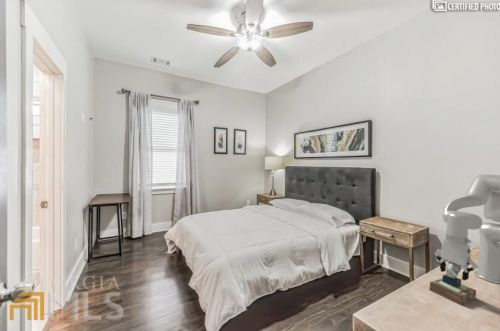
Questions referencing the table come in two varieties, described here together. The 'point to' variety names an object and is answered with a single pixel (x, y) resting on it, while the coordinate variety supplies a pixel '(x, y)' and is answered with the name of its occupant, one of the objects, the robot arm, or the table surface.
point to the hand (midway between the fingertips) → (453, 275)
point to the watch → (452, 275)
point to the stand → (453, 292)
